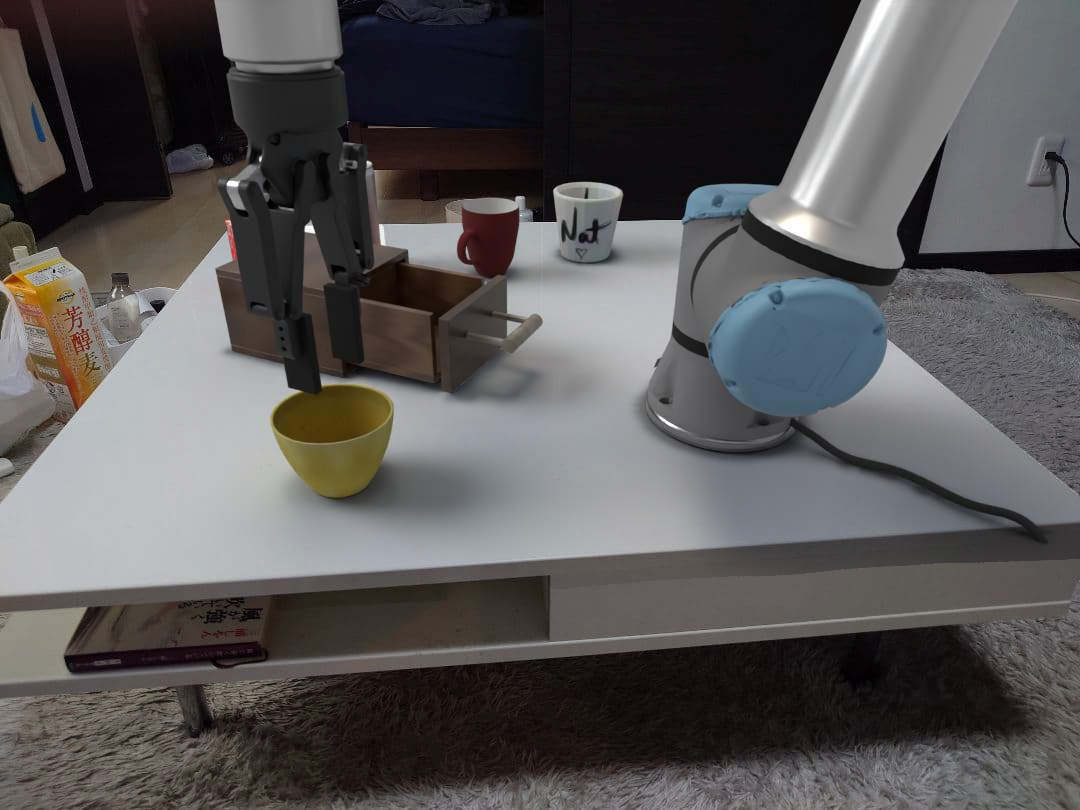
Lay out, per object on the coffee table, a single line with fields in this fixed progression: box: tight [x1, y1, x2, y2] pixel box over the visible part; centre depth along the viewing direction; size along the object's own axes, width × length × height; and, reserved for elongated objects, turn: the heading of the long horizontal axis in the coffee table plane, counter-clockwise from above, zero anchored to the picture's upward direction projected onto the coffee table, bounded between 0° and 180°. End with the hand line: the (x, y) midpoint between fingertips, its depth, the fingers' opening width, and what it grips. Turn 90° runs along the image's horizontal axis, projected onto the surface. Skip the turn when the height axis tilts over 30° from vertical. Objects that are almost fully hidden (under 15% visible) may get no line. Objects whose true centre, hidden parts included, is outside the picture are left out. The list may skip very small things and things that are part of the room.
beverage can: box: [366, 160, 382, 245], centre depth 110 cm, size 6×6×15 cm
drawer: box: [346, 261, 544, 395], centre depth 85 cm, size 20×13×8 cm, turn 67°
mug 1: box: [456, 197, 520, 279], centre depth 109 cm, size 11×8×10 cm
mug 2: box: [552, 181, 624, 263], centre depth 120 cm, size 10×15×10 cm
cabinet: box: [214, 231, 410, 379], centre depth 90 cm, size 16×15×10 cm
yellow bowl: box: [269, 382, 395, 499], centre depth 67 cm, size 10×10×7 cm
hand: (327, 373), depth 63 cm, fingers open, 5 cm apart
